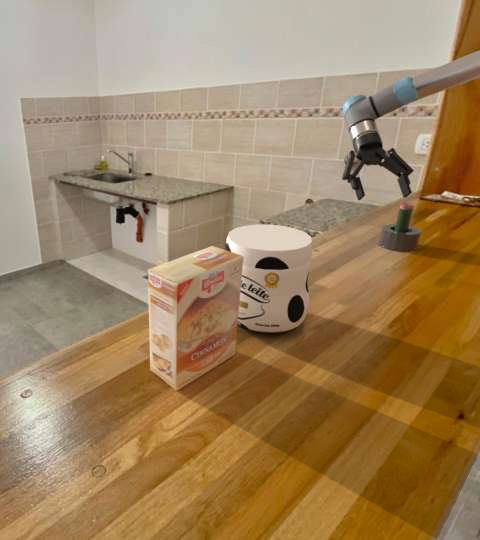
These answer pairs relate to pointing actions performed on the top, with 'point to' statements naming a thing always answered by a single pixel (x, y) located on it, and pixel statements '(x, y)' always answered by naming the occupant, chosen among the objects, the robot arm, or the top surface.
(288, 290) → the milk container
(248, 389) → the top surface
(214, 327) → the coffeecake box
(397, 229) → the green marker pen
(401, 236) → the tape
